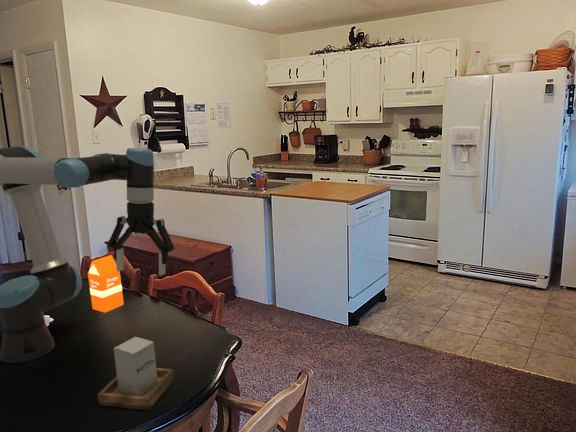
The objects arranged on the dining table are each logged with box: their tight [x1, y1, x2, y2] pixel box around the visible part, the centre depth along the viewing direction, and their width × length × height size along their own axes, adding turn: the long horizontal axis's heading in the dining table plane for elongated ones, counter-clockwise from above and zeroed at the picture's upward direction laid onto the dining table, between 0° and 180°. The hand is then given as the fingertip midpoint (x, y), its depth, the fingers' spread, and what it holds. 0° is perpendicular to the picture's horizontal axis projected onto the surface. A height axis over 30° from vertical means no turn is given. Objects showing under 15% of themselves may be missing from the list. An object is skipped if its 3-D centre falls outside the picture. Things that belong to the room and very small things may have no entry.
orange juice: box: [87, 254, 125, 314], centre depth 177 cm, size 8×9×20 cm
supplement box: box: [113, 336, 158, 396], centre depth 120 cm, size 7×7×13 cm
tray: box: [97, 367, 175, 411], centre depth 121 cm, size 14×14×3 cm
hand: (141, 272), depth 136 cm, fingers open, 13 cm apart
